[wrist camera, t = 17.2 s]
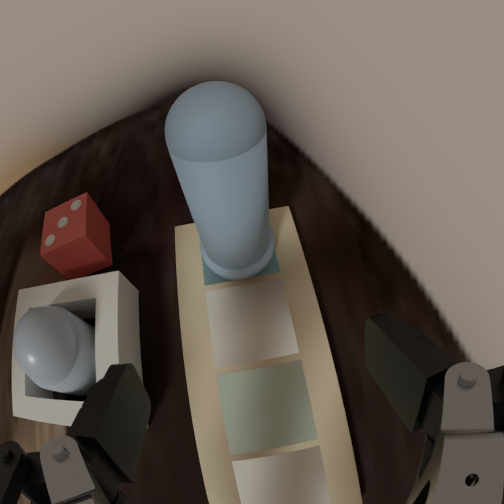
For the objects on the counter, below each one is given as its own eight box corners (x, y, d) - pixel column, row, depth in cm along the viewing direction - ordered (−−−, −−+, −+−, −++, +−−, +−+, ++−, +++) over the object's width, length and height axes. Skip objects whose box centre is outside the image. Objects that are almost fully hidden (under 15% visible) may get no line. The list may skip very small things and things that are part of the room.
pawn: (205, 286, 17) (136, 135, 8) (199, 224, 19) (151, 77, 10) (281, 272, 17) (288, 108, 8) (266, 212, 20) (259, 57, 10)
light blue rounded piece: (53, 394, 14) (-6, 379, 9) (53, 325, 16) (2, 295, 12) (111, 396, 14) (54, 385, 9) (108, 319, 17) (58, 284, 12)
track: (219, 528, 10) (217, 533, 9) (177, 233, 20) (174, 226, 20) (358, 502, 10) (362, 506, 10) (288, 213, 20) (288, 205, 20)
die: (70, 281, 19) (39, 255, 15) (70, 240, 21) (44, 211, 17) (112, 265, 19) (84, 234, 16) (109, 224, 21) (86, 191, 18)
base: (41, 419, 13) (13, 415, 11) (42, 305, 18) (18, 289, 15) (148, 428, 14) (125, 430, 11) (138, 290, 18) (118, 270, 15)
